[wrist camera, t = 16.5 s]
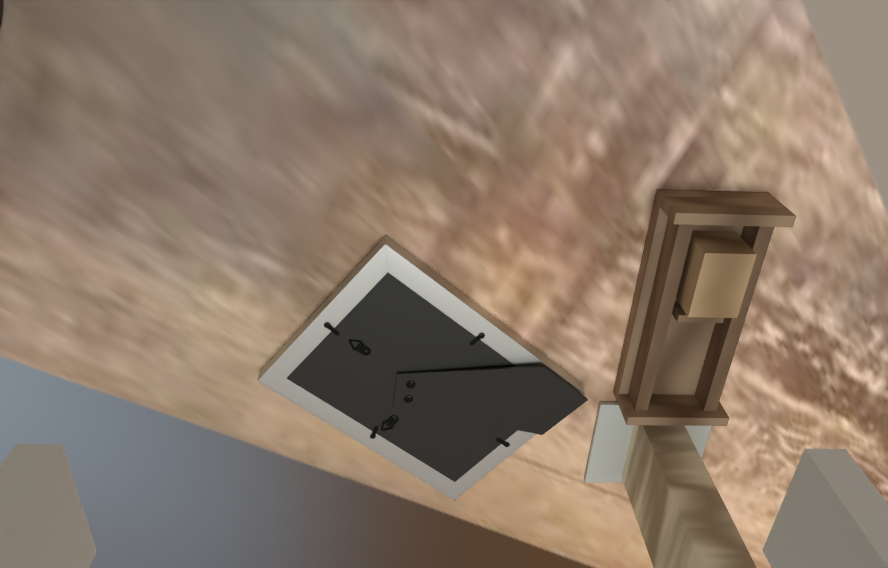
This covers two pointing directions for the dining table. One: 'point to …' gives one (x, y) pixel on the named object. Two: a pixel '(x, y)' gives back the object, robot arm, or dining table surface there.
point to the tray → (666, 324)
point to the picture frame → (420, 373)
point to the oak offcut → (715, 274)
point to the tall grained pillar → (679, 502)
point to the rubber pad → (621, 444)
